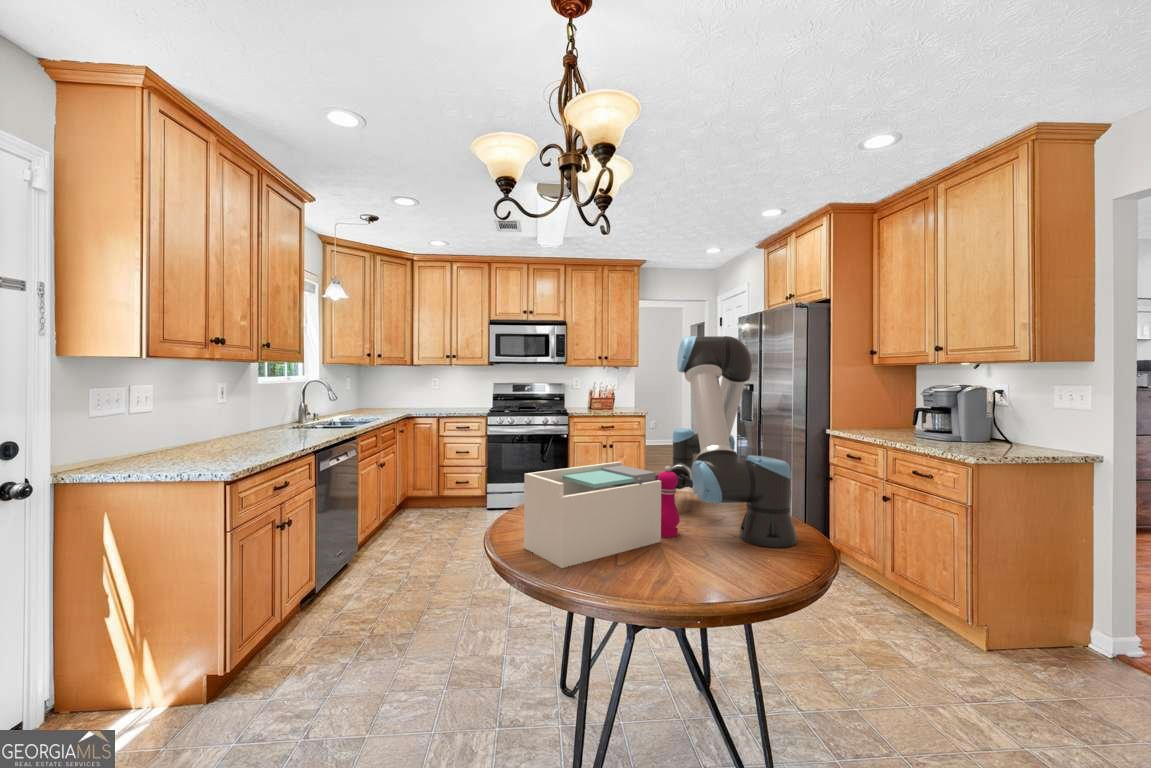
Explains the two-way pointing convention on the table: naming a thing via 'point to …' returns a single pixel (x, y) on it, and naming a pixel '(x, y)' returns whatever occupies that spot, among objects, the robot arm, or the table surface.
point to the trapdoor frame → (587, 516)
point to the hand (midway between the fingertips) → (671, 489)
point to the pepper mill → (668, 503)
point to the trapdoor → (611, 477)
